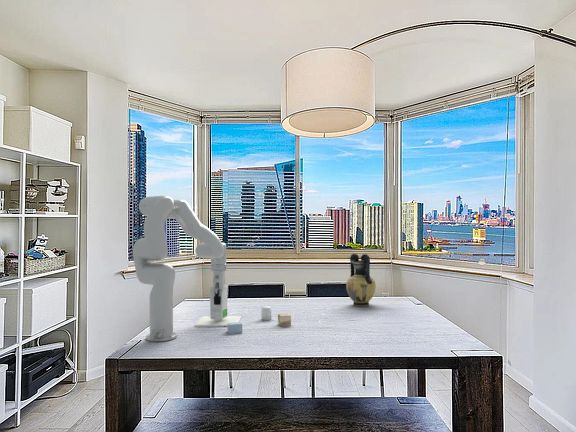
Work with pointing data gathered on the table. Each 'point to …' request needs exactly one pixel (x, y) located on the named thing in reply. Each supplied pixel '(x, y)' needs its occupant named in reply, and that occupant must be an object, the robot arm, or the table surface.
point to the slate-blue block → (235, 327)
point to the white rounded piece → (266, 313)
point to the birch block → (284, 319)
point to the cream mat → (216, 321)
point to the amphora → (360, 281)
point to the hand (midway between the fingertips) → (218, 302)
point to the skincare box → (218, 310)
